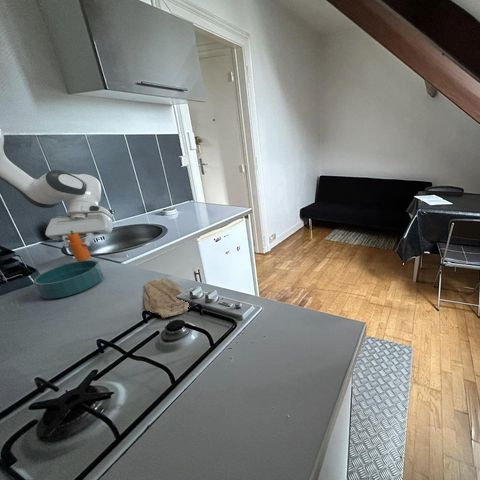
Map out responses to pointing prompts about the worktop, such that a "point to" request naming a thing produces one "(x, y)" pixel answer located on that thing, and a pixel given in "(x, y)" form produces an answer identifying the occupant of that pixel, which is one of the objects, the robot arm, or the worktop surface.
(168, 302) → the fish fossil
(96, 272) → the bowl
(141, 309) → the worktop surface
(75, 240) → the carrot
